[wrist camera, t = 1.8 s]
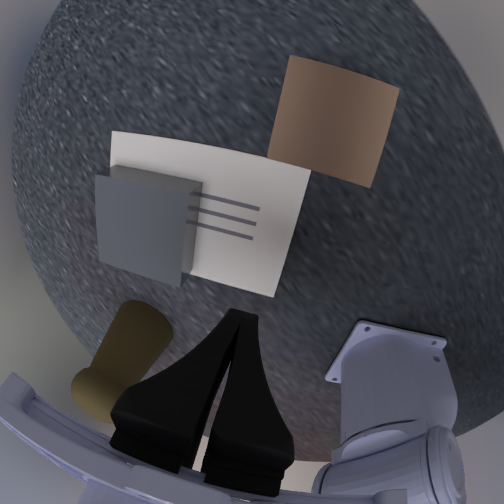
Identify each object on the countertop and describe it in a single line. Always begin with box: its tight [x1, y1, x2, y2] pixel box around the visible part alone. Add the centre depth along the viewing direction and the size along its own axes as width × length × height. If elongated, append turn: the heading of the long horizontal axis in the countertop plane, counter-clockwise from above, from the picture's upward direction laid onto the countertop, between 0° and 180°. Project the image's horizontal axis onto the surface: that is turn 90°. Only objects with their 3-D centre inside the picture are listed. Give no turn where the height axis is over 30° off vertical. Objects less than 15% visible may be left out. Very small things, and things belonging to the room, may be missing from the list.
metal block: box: [95, 165, 203, 288], centre depth 20 cm, size 7×7×2 cm
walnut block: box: [267, 55, 399, 188], centre depth 13 cm, size 4×4×6 cm
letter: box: [110, 131, 311, 297], centre depth 20 cm, size 14×10×1 cm
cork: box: [71, 301, 173, 424], centre depth 23 cm, size 6×6×11 cm
